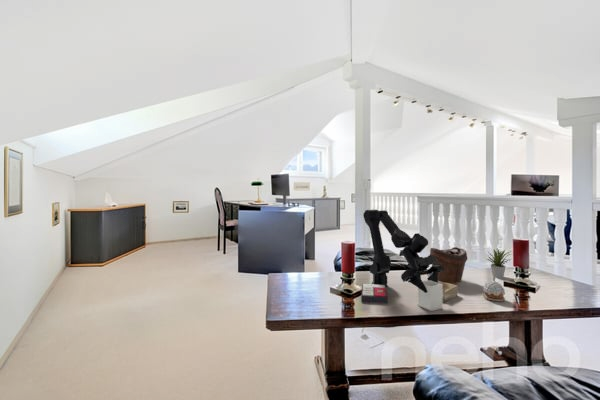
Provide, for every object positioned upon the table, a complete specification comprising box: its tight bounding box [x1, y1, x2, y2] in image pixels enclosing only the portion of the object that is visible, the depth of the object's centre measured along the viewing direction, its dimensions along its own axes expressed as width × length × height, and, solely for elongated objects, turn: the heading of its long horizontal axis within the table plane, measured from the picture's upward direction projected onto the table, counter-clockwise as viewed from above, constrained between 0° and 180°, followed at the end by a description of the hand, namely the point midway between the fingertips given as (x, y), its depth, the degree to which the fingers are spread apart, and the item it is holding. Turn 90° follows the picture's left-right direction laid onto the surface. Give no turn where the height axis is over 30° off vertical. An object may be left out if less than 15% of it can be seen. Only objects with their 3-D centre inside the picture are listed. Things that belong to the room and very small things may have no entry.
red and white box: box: [360, 283, 388, 304], centre depth 140 cm, size 11×4×15 cm
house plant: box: [486, 247, 514, 279], centre depth 168 cm, size 14×14×16 cm
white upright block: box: [417, 279, 443, 312], centre depth 126 cm, size 6×6×10 cm
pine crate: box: [438, 281, 458, 302], centre depth 141 cm, size 12×12×4 cm
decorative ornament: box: [483, 265, 506, 302], centre depth 135 cm, size 8×8×15 cm
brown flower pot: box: [429, 247, 468, 284], centre depth 164 cm, size 18×20×18 cm
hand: (432, 291), depth 125 cm, fingers closed on white upright block, 6 cm apart
